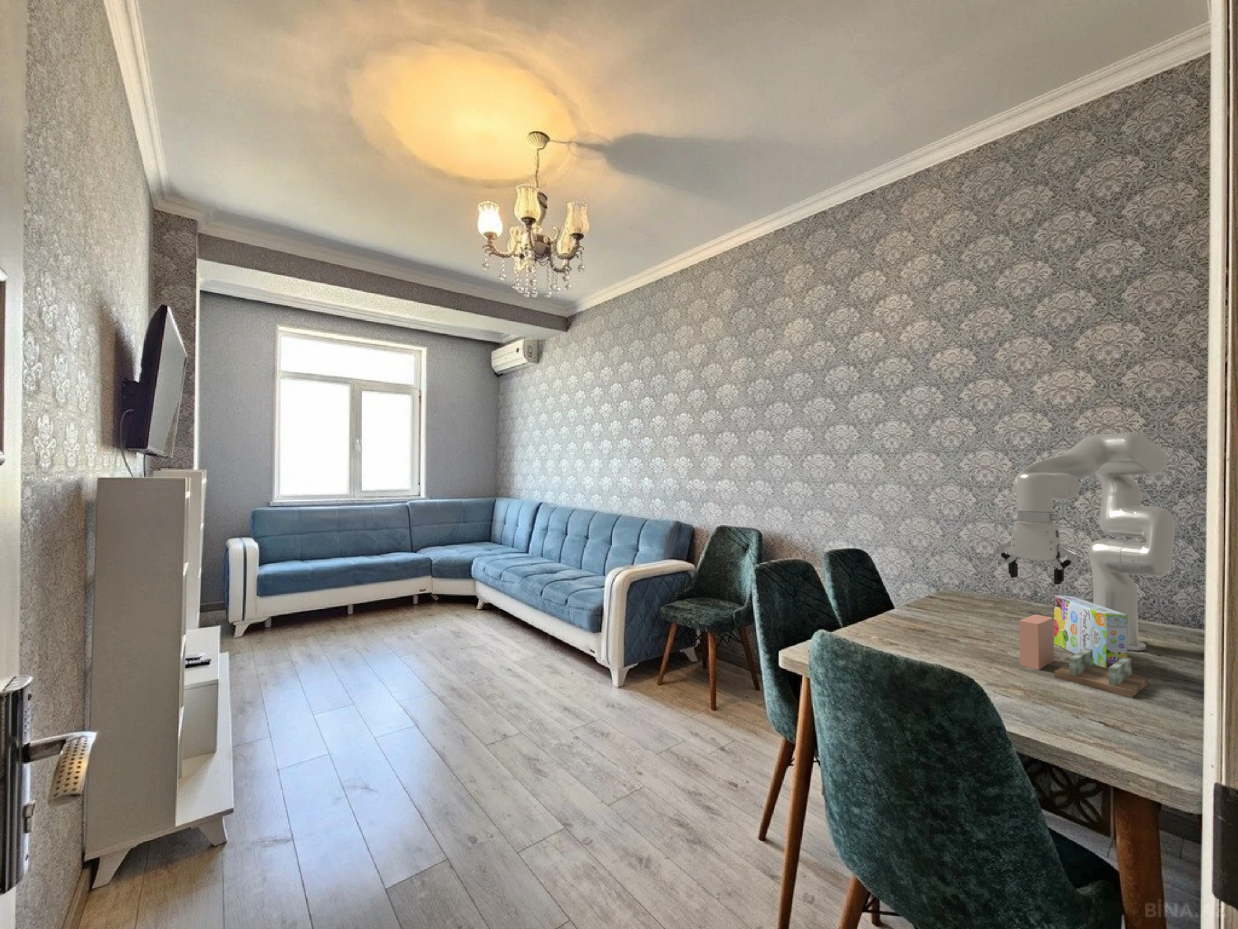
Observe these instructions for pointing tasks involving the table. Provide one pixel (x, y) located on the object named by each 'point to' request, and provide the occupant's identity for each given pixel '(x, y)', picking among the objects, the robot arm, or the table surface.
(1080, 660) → the shelf board
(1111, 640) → the snack box
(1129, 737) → the table surface
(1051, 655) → the tall pink block
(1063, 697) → the table surface
